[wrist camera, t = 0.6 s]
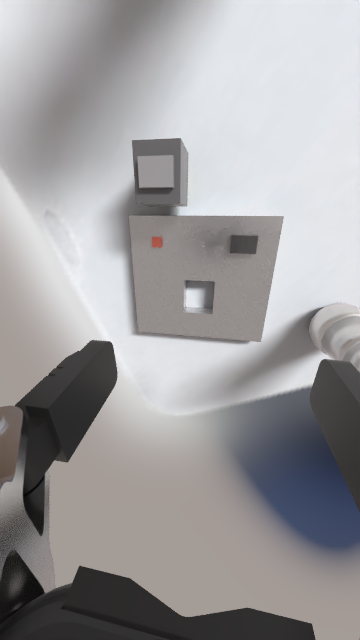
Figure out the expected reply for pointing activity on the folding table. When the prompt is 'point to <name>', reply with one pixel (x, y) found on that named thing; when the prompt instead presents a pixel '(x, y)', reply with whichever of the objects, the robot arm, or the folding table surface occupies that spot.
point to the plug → (160, 172)
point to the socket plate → (204, 273)
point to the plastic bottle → (338, 332)
